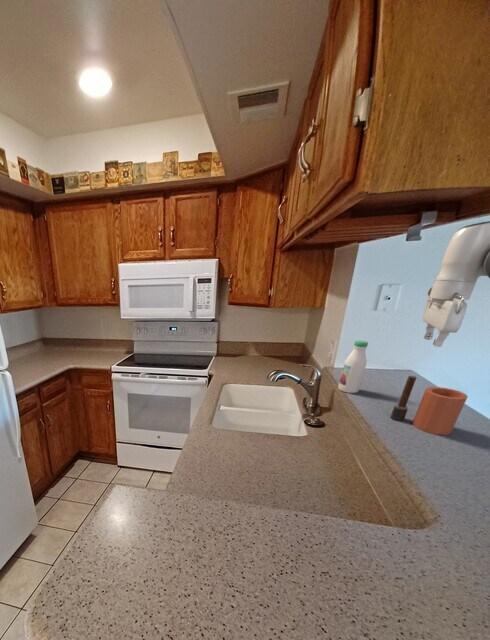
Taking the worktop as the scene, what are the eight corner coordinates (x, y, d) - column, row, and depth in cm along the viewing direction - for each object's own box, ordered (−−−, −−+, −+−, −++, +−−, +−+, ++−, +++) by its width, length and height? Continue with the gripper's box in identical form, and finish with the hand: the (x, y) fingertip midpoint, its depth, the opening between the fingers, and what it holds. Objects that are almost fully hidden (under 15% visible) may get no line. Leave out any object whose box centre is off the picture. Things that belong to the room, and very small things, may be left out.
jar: (444, 423, 109) (460, 389, 103) (456, 436, 101) (473, 400, 95) (409, 418, 112) (422, 385, 107) (417, 431, 104) (431, 396, 98)
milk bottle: (359, 389, 137) (373, 341, 128) (357, 394, 132) (371, 344, 122) (339, 385, 141) (352, 338, 132) (336, 390, 136) (349, 342, 126)
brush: (402, 417, 113) (418, 375, 106) (405, 421, 110) (421, 379, 103) (389, 415, 115) (403, 374, 108) (391, 420, 111) (406, 377, 104)
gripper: (481, 295, 81) (457, 351, 87) (452, 289, 97) (434, 336, 104) (450, 295, 83) (429, 349, 89) (427, 288, 99) (411, 335, 106)
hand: (431, 342), depth 97 cm, fingers open, 8 cm apart
